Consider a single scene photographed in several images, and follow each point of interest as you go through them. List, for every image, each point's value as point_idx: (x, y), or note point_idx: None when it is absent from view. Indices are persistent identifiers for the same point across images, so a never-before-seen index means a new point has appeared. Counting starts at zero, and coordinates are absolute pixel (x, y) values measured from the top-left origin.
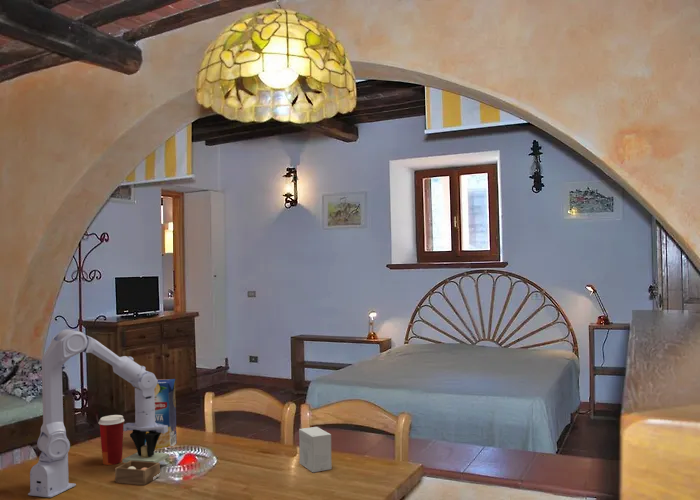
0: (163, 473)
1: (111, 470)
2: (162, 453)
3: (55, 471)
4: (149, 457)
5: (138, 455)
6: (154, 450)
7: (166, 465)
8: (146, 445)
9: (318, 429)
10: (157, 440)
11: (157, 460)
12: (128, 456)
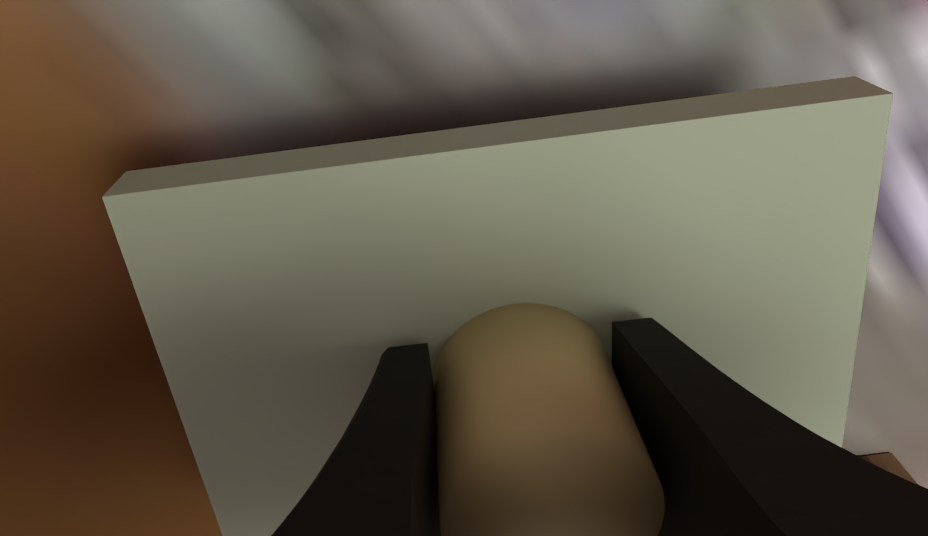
0: (877, 358)
1: (106, 495)
2: (747, 139)
3: None
4: None
5: (337, 387)
6: (694, 356)
7: (750, 80)
8: (518, 472)
9: None
10: (876, 472)
11: (834, 429)
12: (204, 479)
